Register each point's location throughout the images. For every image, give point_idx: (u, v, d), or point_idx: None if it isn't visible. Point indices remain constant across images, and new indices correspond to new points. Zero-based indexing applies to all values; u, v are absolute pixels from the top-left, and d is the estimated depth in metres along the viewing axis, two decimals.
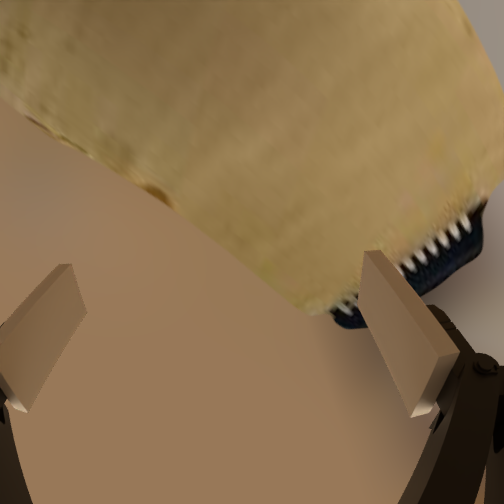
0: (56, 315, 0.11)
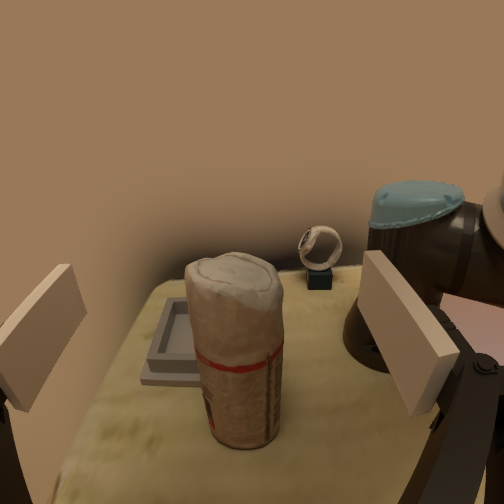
0: (56, 315, 0.11)
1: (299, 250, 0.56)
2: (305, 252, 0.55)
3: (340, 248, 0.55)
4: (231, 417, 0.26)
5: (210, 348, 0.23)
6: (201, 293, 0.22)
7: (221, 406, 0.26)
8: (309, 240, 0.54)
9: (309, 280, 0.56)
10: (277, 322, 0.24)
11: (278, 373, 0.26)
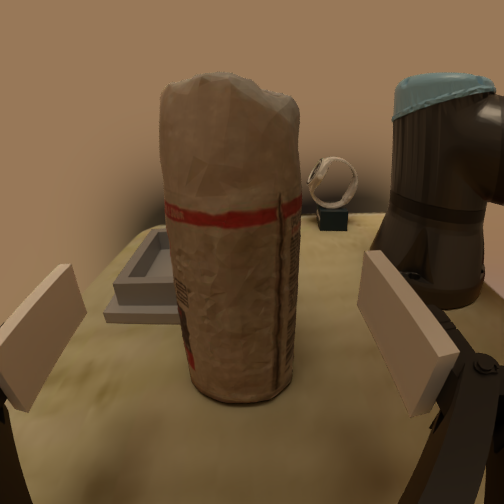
0: (56, 315, 0.11)
1: (309, 182, 0.47)
2: (316, 184, 0.46)
3: (356, 181, 0.46)
4: (218, 334, 0.17)
5: (185, 182, 0.14)
6: (178, 90, 0.13)
7: (202, 312, 0.17)
8: (320, 169, 0.45)
9: (321, 218, 0.47)
10: (293, 145, 0.15)
11: (295, 255, 0.17)
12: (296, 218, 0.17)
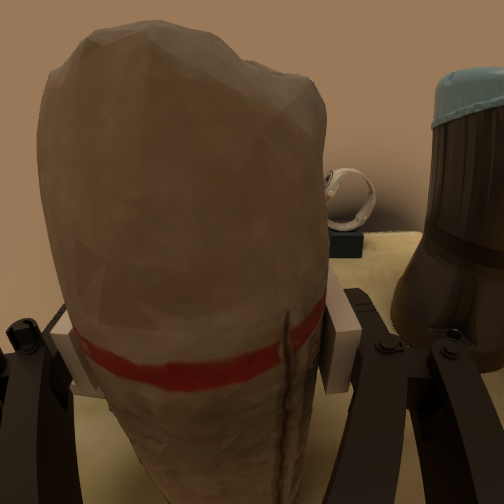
0: None
1: None
2: (326, 202, 0.38)
3: (373, 199, 0.38)
4: (187, 492, 0.09)
5: (76, 291, 0.06)
6: (53, 81, 0.05)
7: (158, 469, 0.08)
8: (331, 183, 0.36)
9: (331, 243, 0.39)
10: (318, 192, 0.06)
11: (311, 387, 0.09)
12: (317, 333, 0.08)
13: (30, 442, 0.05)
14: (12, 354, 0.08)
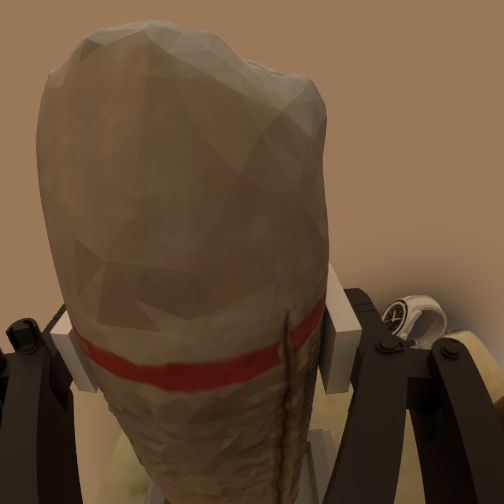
0: None
1: None
2: None
3: (442, 330, 0.30)
4: (187, 492, 0.09)
5: (76, 291, 0.06)
6: (53, 81, 0.05)
7: (158, 469, 0.08)
8: (405, 325, 0.28)
9: None
10: (318, 192, 0.06)
11: (311, 387, 0.09)
12: (317, 333, 0.08)
13: (30, 442, 0.05)
14: (12, 354, 0.08)
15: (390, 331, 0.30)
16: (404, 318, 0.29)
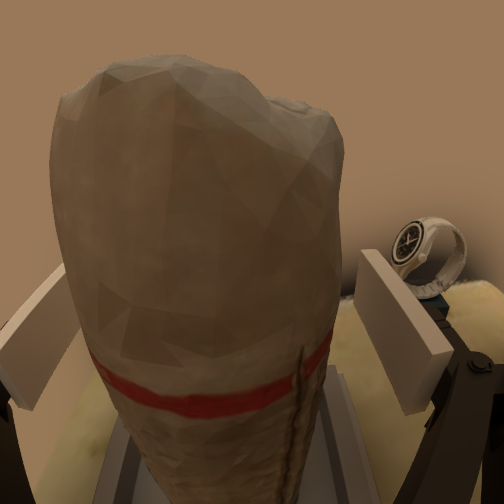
0: (60, 314, 0.11)
1: (399, 263, 0.27)
2: (412, 267, 0.26)
3: (463, 259, 0.26)
4: (196, 501, 0.09)
5: (97, 326, 0.06)
6: (67, 111, 0.05)
7: (169, 481, 0.09)
8: (423, 244, 0.25)
9: None
10: (336, 234, 0.07)
11: (317, 405, 0.09)
12: (326, 359, 0.08)
13: None
14: None
15: (406, 255, 0.26)
16: (421, 236, 0.25)
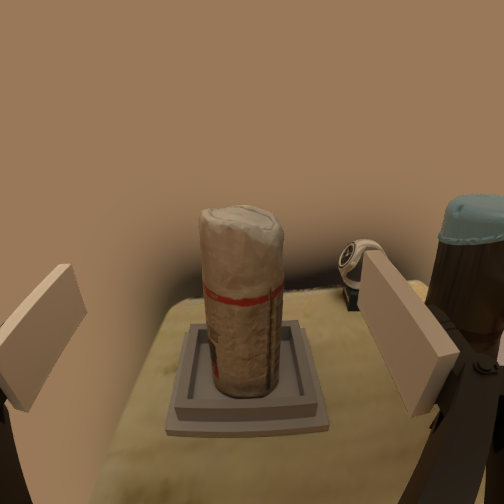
0: (56, 315, 0.11)
1: (341, 267, 0.48)
2: (348, 269, 0.47)
3: None
4: (235, 358, 0.30)
5: (219, 281, 0.27)
6: (214, 229, 0.26)
7: (226, 346, 0.29)
8: (354, 256, 0.46)
9: (350, 300, 0.48)
10: (278, 259, 0.28)
11: (279, 314, 0.30)
12: (280, 295, 0.29)
13: None
14: None
15: (345, 262, 0.47)
16: (353, 251, 0.46)
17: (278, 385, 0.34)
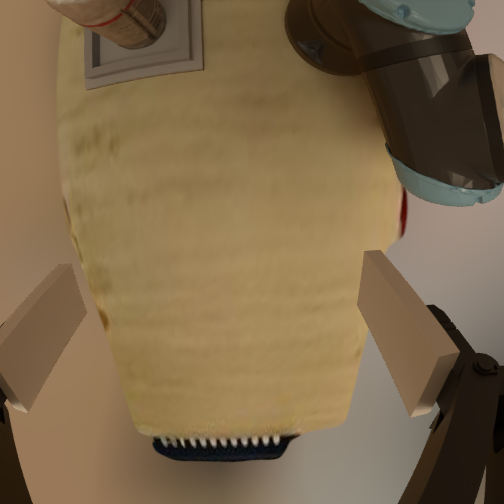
0: (56, 315, 0.11)
1: None
2: None
3: None
4: (116, 39, 0.27)
5: (76, 21, 0.20)
6: (51, 3, 0.15)
7: (105, 36, 0.26)
8: None
9: None
10: None
11: (141, 7, 0.23)
12: (136, 1, 0.21)
13: None
14: None
15: None
16: None
17: (165, 30, 0.33)
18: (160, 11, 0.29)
